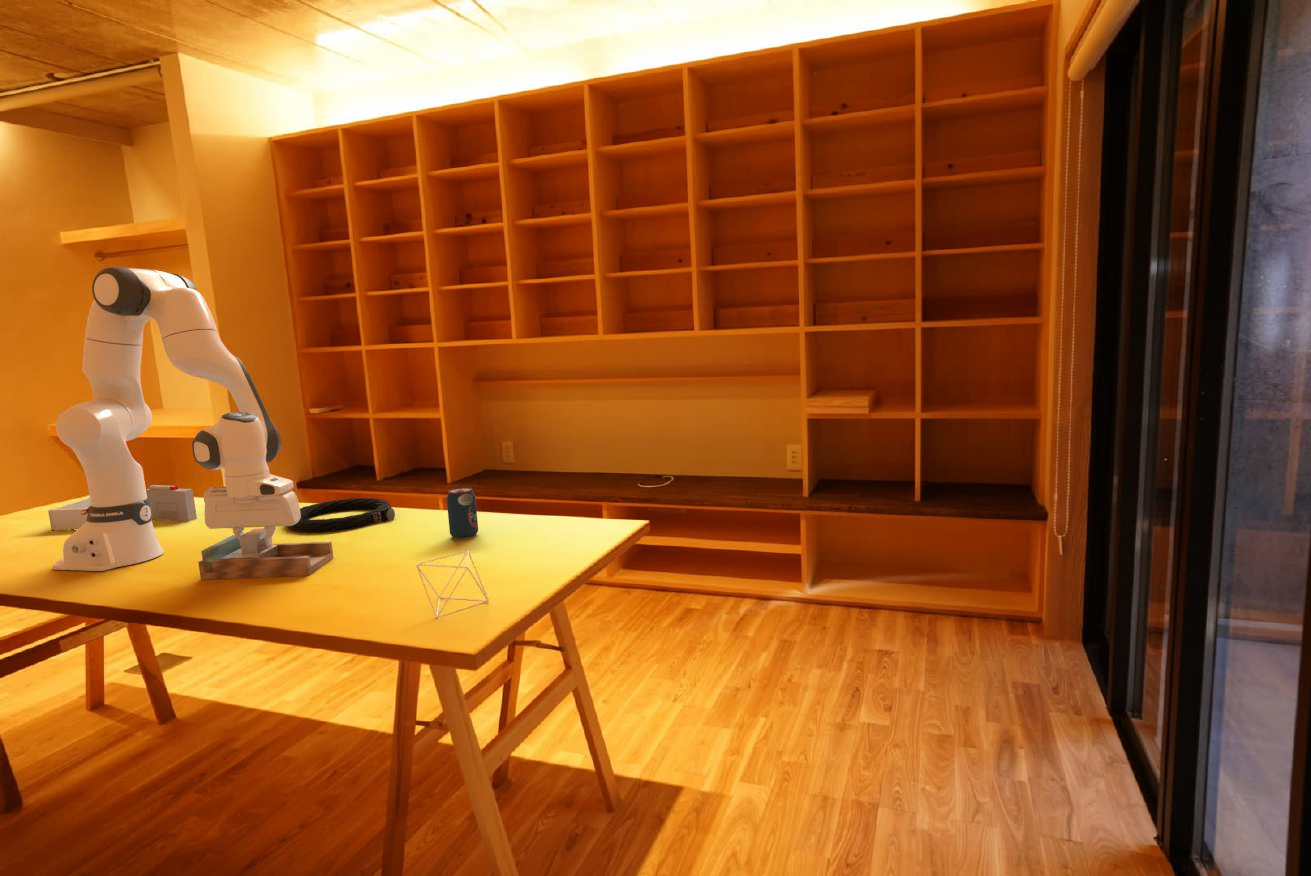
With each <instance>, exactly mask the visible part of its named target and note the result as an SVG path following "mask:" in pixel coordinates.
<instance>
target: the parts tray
mask: <svg viewBox="0 0 1311 876" xmlns="http://www.w3.org/2000/svg"><path fill="white" fill-rule="evenodd" d="M90 506H91V499H90V497H88V498H84V499H81V500H78V501H74V502H71V503H67V504H65V505H61V506H59V507H54V508H52V509H49V510H47V512H48V517H49V524H50V527H51V528H50V529H51V531H52V530H65V531H70V530H69V529H79V528H80V527H81V526H82V525H83V524H85V523H86V522H87V521H86V519H87V515H88V514H85V515H81V514H82V513H84V512H85V511H82V510H85V509H88V507H90ZM81 511H82V512H81Z"/></svg>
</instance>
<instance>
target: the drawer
mask: <svg viewBox="0 0 1311 876" xmlns="http://www.w3.org/2000/svg"><path fill="white" fill-rule="evenodd" d="M272 545H278V552H279V556H277V557H274V558H248V559H223V560H221V558H223V557H225V556H227V555H229V554H230V553H232V552H234V551H236V550H238V549H240V548H241V546H240V540H239V539H238V538H237V537H236V536H235V534H233V535H230V536H228V537H226V538H224V539H223V540H220V541H218V542H216V543H214V544H212V545H210V546H208V547H206V548H203V549H202V550H201V551H200V553H201V558H202V560H199V561H198V562H197V563H198V568H199V575H200V576H199V577H200V581H201V580H203V581H204V580H223V579H224V580H226V579H229V580H231V579H253V578H255V579H256V578H275V577H276V578H277V577H279V578H281V577H301V576H302V577H303V576H304V577H305V576H307V577H308V576H311V575H312V574H314V573H315V572H316V571H318V570H319V569H320V568H322V567H323V566H325V564H328V562H330V561H331V560H333V559H334V552H333V543H332V541H312V542H311V541H310V542H290V543H289V542H288V543H286V542H283V543H272Z"/></svg>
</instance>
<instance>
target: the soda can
mask: <svg viewBox="0 0 1311 876" xmlns="http://www.w3.org/2000/svg"><path fill="white" fill-rule="evenodd" d="M476 499H477V498H476V494H475V492H474V491H473V488H472V487H470V486H459V487H454V488H451V489H449V490H448V494H447V495H446V503H447V504H446V506H447V516H448V518H447V519H448V527H449V529H448V531H449V534H450V536H451V537H452V539H454V540H458V541H459V540H469V539H472V538H475V537H476V536H477V534H478V532H479V523H478V512H477V503H476V502H477V500H476Z"/></svg>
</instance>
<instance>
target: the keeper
mask: <svg viewBox="0 0 1311 876" xmlns="http://www.w3.org/2000/svg"><path fill="white" fill-rule="evenodd" d="M267 532H268V531H265V529H264V527H259V528H253V529H250V530H249V531H247V532H245V533H244V534H243V535H241V536H240V543H241V548H240V549H238V550H236V551H234V552H232V553H230V554H229V555H227V556H225V557H223V558H221V560H223V559H248V558H274V557H277V556H279V552H278V545H270V546H262V541H261V539H262V538H264V537H265V536H266V534H267Z"/></svg>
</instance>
